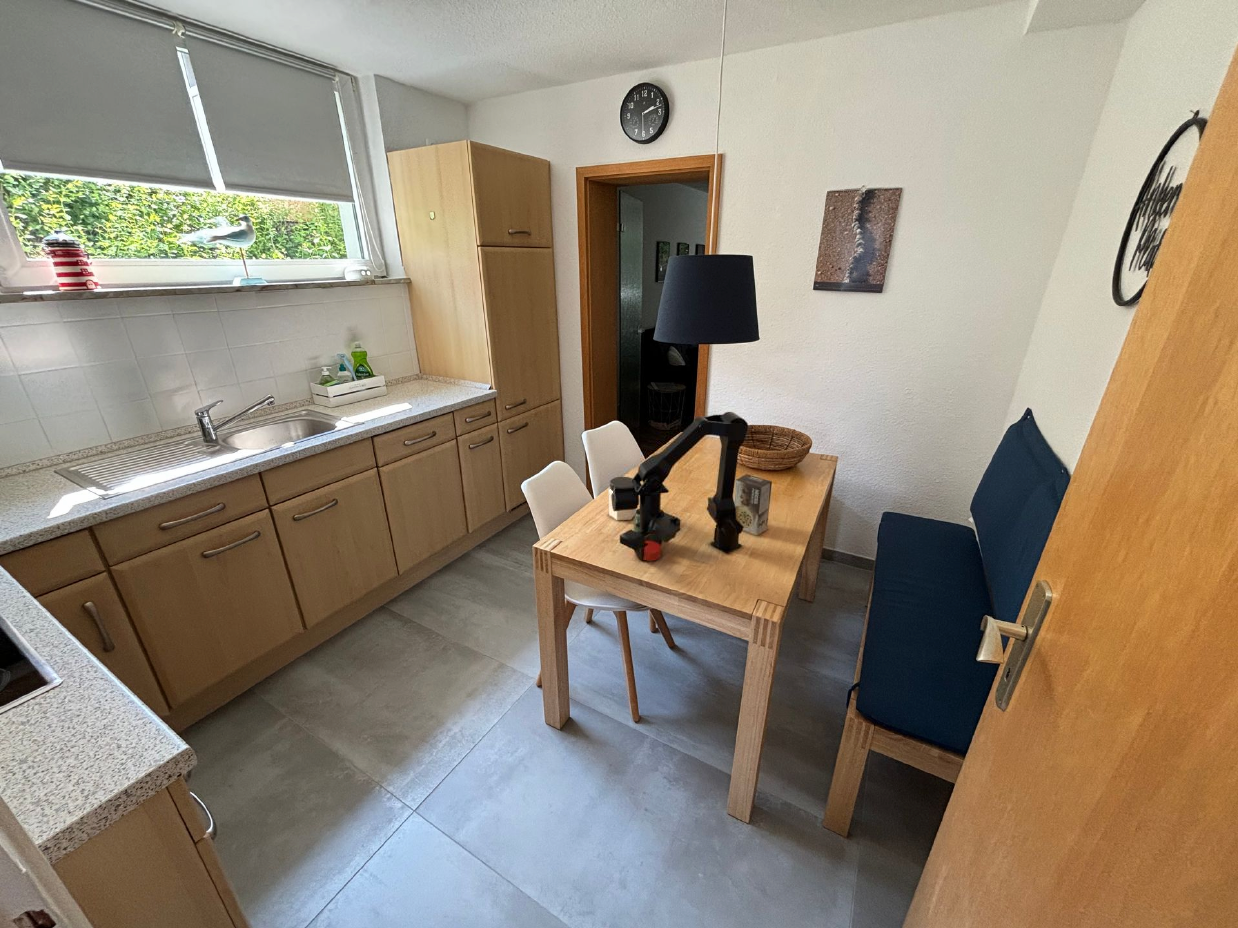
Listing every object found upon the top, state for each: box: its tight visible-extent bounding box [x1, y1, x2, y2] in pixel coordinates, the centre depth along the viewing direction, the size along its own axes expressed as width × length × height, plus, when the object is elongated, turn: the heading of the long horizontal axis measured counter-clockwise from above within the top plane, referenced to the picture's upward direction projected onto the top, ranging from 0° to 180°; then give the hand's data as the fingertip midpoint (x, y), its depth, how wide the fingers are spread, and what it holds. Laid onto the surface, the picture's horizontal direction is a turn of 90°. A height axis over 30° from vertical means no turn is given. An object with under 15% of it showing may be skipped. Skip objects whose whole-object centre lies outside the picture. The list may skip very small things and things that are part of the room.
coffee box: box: [733, 473, 773, 536], centre depth 152 cm, size 9×6×16 cm
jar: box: [608, 476, 637, 521], centre depth 162 cm, size 9×8×12 cm
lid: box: [643, 541, 662, 562], centre depth 140 cm, size 7×7×2 cm
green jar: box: [633, 513, 653, 541], centre depth 147 cm, size 6×6×9 cm
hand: (648, 556), depth 141 cm, fingers closed on lid, 6 cm apart
